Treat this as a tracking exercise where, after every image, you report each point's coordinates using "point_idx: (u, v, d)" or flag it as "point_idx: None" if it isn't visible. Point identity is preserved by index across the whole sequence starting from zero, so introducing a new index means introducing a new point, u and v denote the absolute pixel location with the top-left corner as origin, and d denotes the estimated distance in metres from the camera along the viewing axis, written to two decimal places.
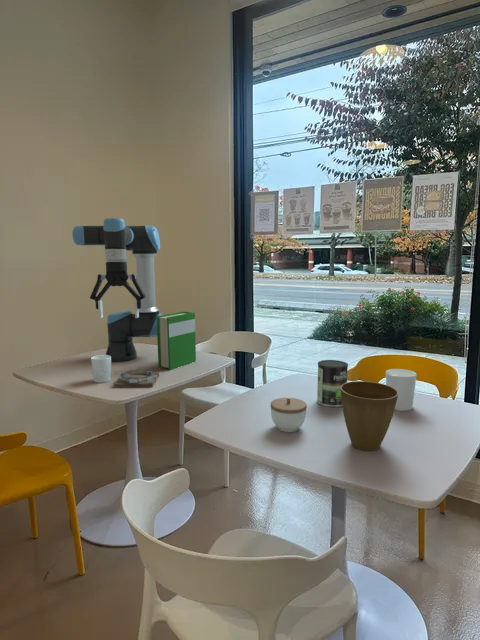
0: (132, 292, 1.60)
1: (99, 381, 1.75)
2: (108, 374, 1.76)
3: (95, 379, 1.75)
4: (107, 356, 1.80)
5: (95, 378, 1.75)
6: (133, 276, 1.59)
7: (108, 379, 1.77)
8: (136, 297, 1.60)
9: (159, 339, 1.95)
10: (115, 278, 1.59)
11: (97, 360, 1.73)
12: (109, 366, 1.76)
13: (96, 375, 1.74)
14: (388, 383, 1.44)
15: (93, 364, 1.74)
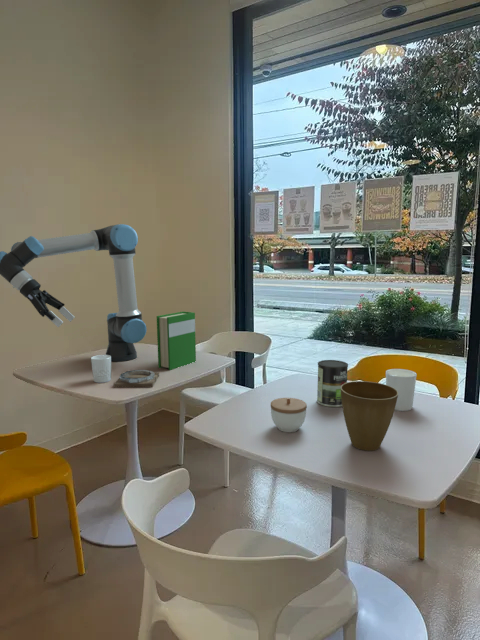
0: None
1: (99, 381, 1.75)
2: (108, 374, 1.76)
3: (95, 379, 1.75)
4: (107, 356, 1.80)
5: (95, 378, 1.75)
6: None
7: (108, 379, 1.77)
8: None
9: (159, 339, 1.95)
10: None
11: (97, 360, 1.73)
12: (109, 366, 1.76)
13: (96, 375, 1.74)
14: (388, 383, 1.44)
15: (93, 364, 1.74)
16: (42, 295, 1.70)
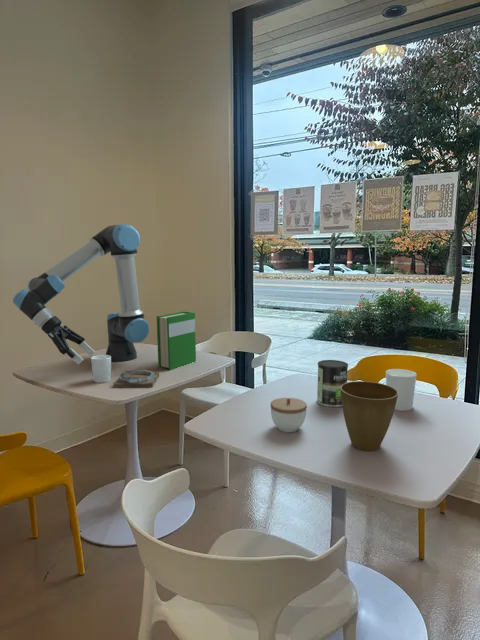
0: None
1: (99, 381, 1.75)
2: (108, 374, 1.76)
3: (95, 379, 1.75)
4: (107, 356, 1.80)
5: (95, 378, 1.75)
6: None
7: (108, 379, 1.77)
8: None
9: (159, 339, 1.95)
10: None
11: (97, 360, 1.73)
12: (109, 366, 1.76)
13: (96, 375, 1.74)
14: (388, 383, 1.44)
15: (93, 364, 1.74)
16: (63, 332, 1.72)
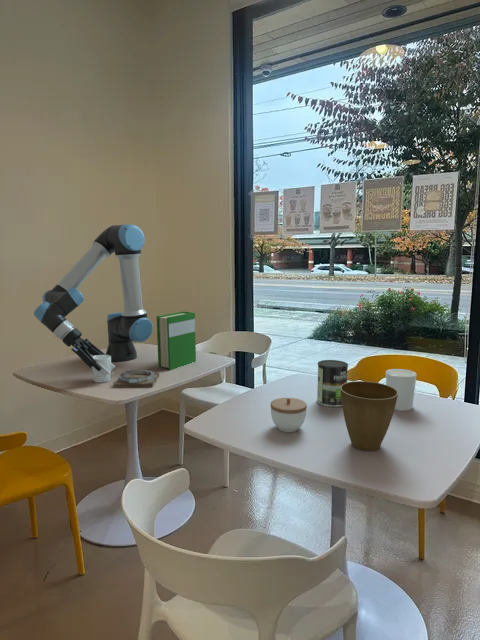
0: None
1: (99, 381, 1.75)
2: (108, 374, 1.76)
3: (95, 379, 1.75)
4: (107, 356, 1.80)
5: (95, 378, 1.75)
6: None
7: (108, 379, 1.77)
8: None
9: (159, 339, 1.95)
10: None
11: (97, 360, 1.73)
12: (109, 366, 1.76)
13: (96, 375, 1.74)
14: (388, 383, 1.44)
15: None
16: (84, 344, 1.74)
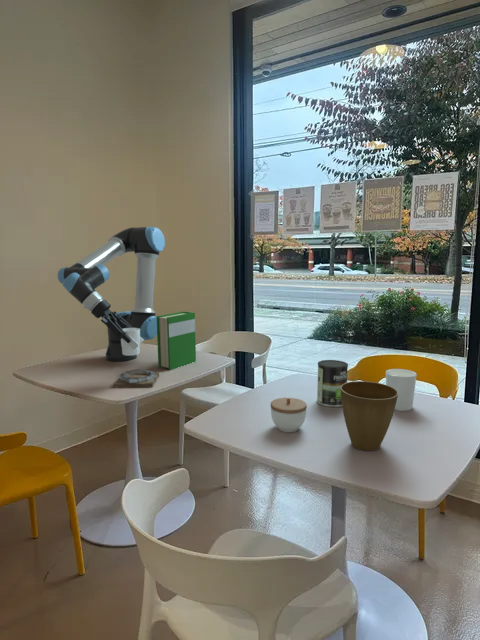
0: None
1: (128, 354, 1.71)
2: (137, 347, 1.72)
3: (124, 352, 1.71)
4: (136, 329, 1.76)
5: (124, 351, 1.71)
6: None
7: (137, 352, 1.72)
8: None
9: (159, 339, 1.95)
10: None
11: (126, 332, 1.69)
12: (138, 339, 1.72)
13: (125, 348, 1.70)
14: (388, 383, 1.44)
15: None
16: (113, 316, 1.70)
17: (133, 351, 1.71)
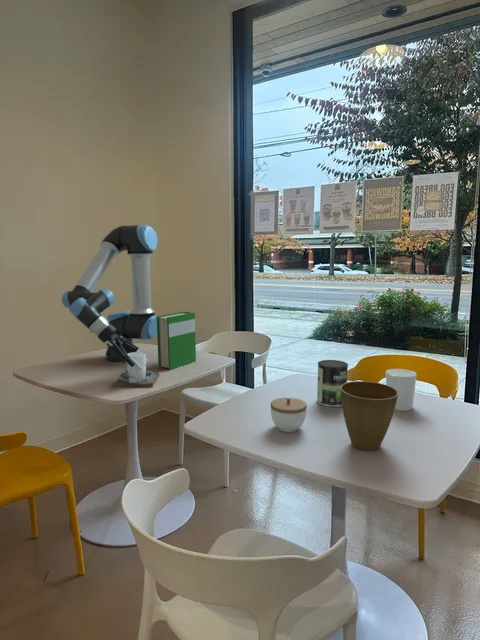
0: None
1: None
2: (143, 371, 1.74)
3: (130, 376, 1.73)
4: (142, 353, 1.78)
5: (130, 375, 1.73)
6: None
7: (143, 376, 1.75)
8: None
9: (159, 339, 1.95)
10: None
11: (133, 357, 1.71)
12: (144, 363, 1.74)
13: (132, 372, 1.72)
14: (388, 383, 1.44)
15: None
16: (119, 340, 1.72)
17: (139, 376, 1.73)
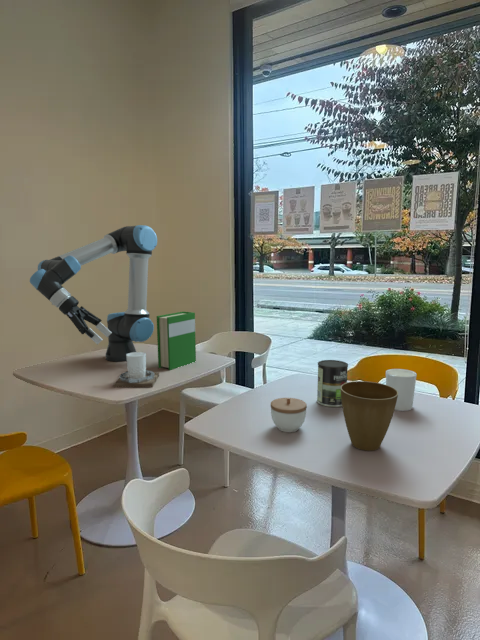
0: None
1: None
2: (143, 371, 1.74)
3: (130, 376, 1.73)
4: (142, 353, 1.78)
5: (130, 375, 1.73)
6: None
7: (143, 376, 1.75)
8: None
9: (159, 339, 1.95)
10: None
11: (133, 357, 1.71)
12: (144, 363, 1.74)
13: (132, 372, 1.72)
14: (388, 383, 1.44)
15: (129, 361, 1.72)
16: (81, 312, 1.71)
17: (139, 376, 1.73)
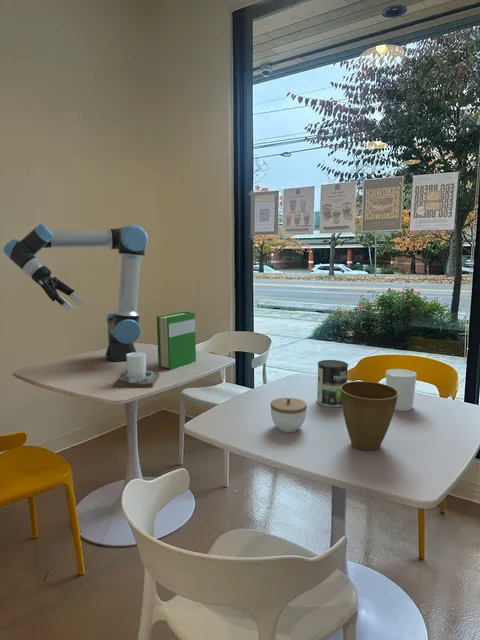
0: None
1: None
2: (143, 371, 1.74)
3: (130, 376, 1.73)
4: (142, 353, 1.78)
5: (130, 375, 1.73)
6: None
7: (143, 376, 1.75)
8: None
9: (159, 339, 1.95)
10: None
11: (133, 357, 1.71)
12: (144, 363, 1.74)
13: (132, 372, 1.72)
14: (388, 383, 1.44)
15: (129, 361, 1.72)
16: (52, 281, 1.78)
17: (139, 376, 1.73)
